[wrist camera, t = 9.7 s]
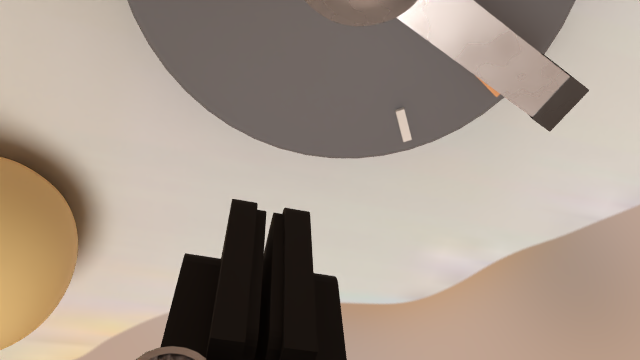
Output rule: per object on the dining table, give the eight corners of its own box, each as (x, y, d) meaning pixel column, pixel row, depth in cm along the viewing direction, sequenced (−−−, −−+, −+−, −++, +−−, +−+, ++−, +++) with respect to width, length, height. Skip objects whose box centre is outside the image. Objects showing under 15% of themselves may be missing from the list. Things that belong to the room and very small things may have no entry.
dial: (259, -38, 28) (252, -15, 23) (342, -174, 26) (354, -182, 21) (482, 119, 33) (516, 166, 28) (572, 18, 30) (627, 50, 25)
